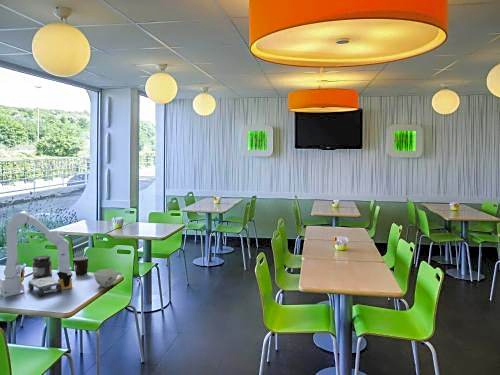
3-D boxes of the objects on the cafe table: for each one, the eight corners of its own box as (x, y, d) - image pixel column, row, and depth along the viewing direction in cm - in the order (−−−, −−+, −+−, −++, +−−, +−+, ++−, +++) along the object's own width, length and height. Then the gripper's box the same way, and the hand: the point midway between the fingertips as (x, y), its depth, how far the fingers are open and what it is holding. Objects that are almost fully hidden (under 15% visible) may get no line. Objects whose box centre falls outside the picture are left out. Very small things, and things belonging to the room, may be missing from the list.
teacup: (95, 290, 232) (94, 276, 231) (93, 284, 243) (92, 270, 242) (124, 286, 238) (123, 272, 238) (120, 280, 249) (120, 267, 249)
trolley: (40, 298, 220) (40, 287, 220) (27, 289, 235) (27, 279, 234) (62, 293, 228) (61, 283, 228) (48, 285, 242) (48, 275, 242)
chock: (72, 287, 238) (71, 278, 237) (61, 290, 233) (60, 281, 233) (69, 286, 240) (68, 277, 240) (58, 288, 236) (57, 279, 236)
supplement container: (53, 273, 266) (52, 254, 265) (50, 278, 256) (49, 258, 255) (35, 275, 264) (33, 255, 263) (31, 279, 253) (30, 259, 252)
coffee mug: (73, 273, 266) (73, 257, 265) (88, 271, 269) (87, 256, 269) (74, 278, 255) (73, 261, 254) (89, 276, 259) (88, 260, 258)
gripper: (76, 262, 233) (77, 286, 234) (66, 257, 244) (67, 281, 245) (63, 264, 228) (64, 289, 229) (53, 260, 239) (54, 283, 240)
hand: (65, 285), depth 237 cm, fingers closed on chock, 4 cm apart
